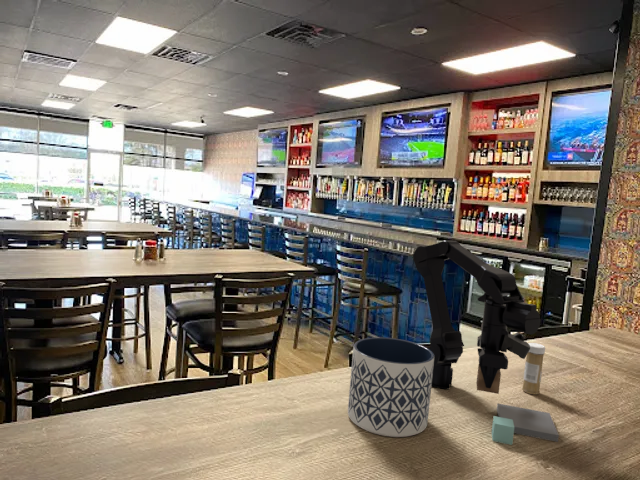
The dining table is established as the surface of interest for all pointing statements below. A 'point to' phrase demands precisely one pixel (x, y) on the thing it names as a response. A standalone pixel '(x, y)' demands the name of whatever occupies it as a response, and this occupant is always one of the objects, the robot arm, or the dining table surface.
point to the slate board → (529, 422)
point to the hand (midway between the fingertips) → (487, 384)
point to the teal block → (502, 430)
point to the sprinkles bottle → (533, 369)
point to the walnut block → (481, 382)
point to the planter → (390, 386)
